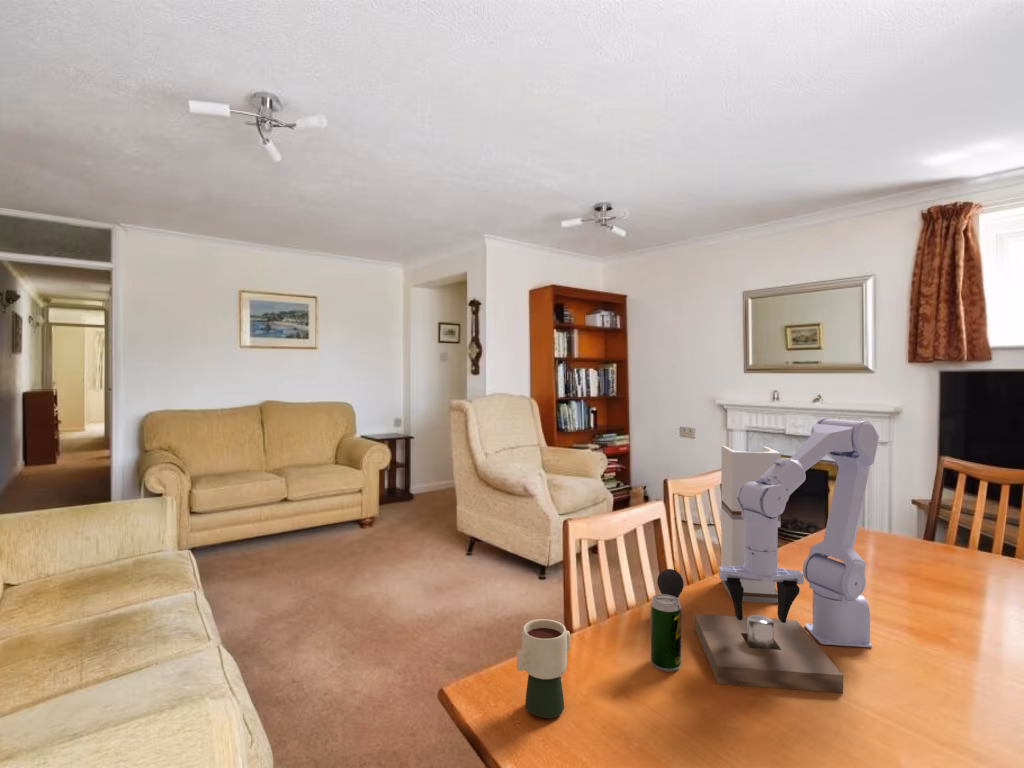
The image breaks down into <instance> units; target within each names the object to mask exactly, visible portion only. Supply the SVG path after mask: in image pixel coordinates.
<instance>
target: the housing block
mask: <svg viewBox="0 0 1024 768" xmlns="http://www.w3.org/2000/svg"><path fill="white" fill-rule="evenodd" d="M747 618H748V616H743V617H742V620H738V619H737V617H736V616H735V615H734V616H732V615H716V614H715V615H713V614H700V613H699V614H697V613H695V614H694V628H693V629H694V631H695V633H696V635H697V638H698V641H699V642H700V645H701V647H702V649H703V652H704V654H705V656H706V659H707V662H708V663H709V666H710V669H711V670H712V672H713V675H714V677H715V680H716V682H717V684H719V685H731V686H744V687H745V686H746V687H759V688H770V689H771V688H773V689H782V690H783V689H785V690H799V691H810V692H811V691H813V692H823V693H824V692H826V693H836V694H837V693H838V694H839V693H841V694H843V693H844V674H843V673H842V672H841V670H839V669H838V667H837V666H836V665H835V664H834V662H833V661H832V660H831V659H830V658H829V656H828V655H827V654H826V653H825V652H824V650H823V649H821V648H820V646H819V645H818V644H817V643H816V642H815V640H814V639H813V638H812V637H811V635H810V634H809V633H808V632H807V631H806V630H805V628H804V627H803V626H802V625H801V624H800V623H799V621H798V620H797V619H788V618H787V619H786V623H782V622H781V621H780V620H779V618H770V617H769V618H770V619H772V620H773V622H774V649H760V648H749V647H748V645H747Z"/></svg>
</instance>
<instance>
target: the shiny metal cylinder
mask: <svg viewBox="0 0 1024 768" xmlns="http://www.w3.org/2000/svg"><path fill="white" fill-rule="evenodd" d="M747 617H748V618H747V645H748V647H749V648H760V649H774V622H773V620H772V619H773V618H771V619H770V617H768V616H764V615H760V614H751V615H750V614H749V615H748V616H747Z"/></svg>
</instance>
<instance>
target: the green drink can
mask: <svg viewBox="0 0 1024 768" xmlns="http://www.w3.org/2000/svg"><path fill="white" fill-rule="evenodd" d="M680 602H681V601H680V599H679V597H678V598H676V597H674V596H671V595H666V594H660V593H659V594H655V595H653V596H652V597H651V602H650V661H651V664H652V666H653V667H654V668H655V669H657V670H658V671H662V672H666V673H671V672H677V671H678V670H679V669H680V666H681V664H682V605H681V603H680Z"/></svg>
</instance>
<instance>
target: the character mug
mask: <svg viewBox="0 0 1024 768" xmlns="http://www.w3.org/2000/svg"><path fill="white" fill-rule="evenodd" d="M521 636H522V637H521V638H522V639H521V646H520V647H521V648H520V649H518V650H517V651H516V668H517V671H518V672H523V671H525V672H526V673H527V674H528V677H527V682H526V683H527V685H526V689H525V691H526V692H525V702H524V703H525V704H524V705H525V706H524V708H525V710H527V712H529V713H531V715H534V716H536V717H541V718H545V719H552V718H557V717H558V716H560V715H561V714H562V713H563V711H564V709H565V697H564V692H563V683H562V677H561V676H562V675H564V674H565V673H566V670H567V666H568V661H567V660H568V651H569V650H570V648H571V633H570V631H569V630H567V628H566V626H565V625H564V624H563V623H562V622H560V621H556V620H553V619H548V618H546V619H545V618H544V619H543V618H542V619H541V618H539V619H538V618H537V619H533V620H529V621H527V622H526V623H525V624H524V625H523V626H522V630H521Z"/></svg>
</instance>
